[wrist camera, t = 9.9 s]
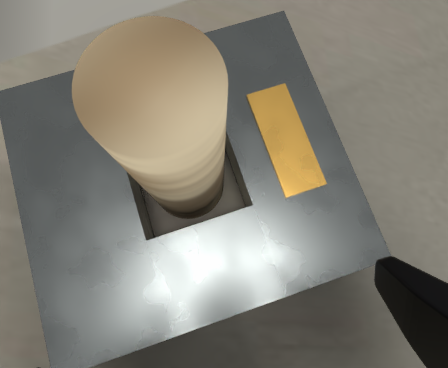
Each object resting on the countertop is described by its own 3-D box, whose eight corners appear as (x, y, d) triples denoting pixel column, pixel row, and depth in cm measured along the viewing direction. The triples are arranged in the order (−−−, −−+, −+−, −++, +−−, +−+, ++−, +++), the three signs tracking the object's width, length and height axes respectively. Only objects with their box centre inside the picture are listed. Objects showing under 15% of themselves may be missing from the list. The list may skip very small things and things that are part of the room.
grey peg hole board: (368, 259, 21) (394, 258, 18) (78, 362, 19) (51, 382, 16) (276, 41, 24) (284, 8, 21) (23, 114, 23) (-8, 90, 20)
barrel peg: (237, 184, 22) (260, 84, 10) (187, 233, 21) (143, 190, 9) (190, 138, 23) (156, -10, 10) (140, 183, 22) (39, 81, 10)
